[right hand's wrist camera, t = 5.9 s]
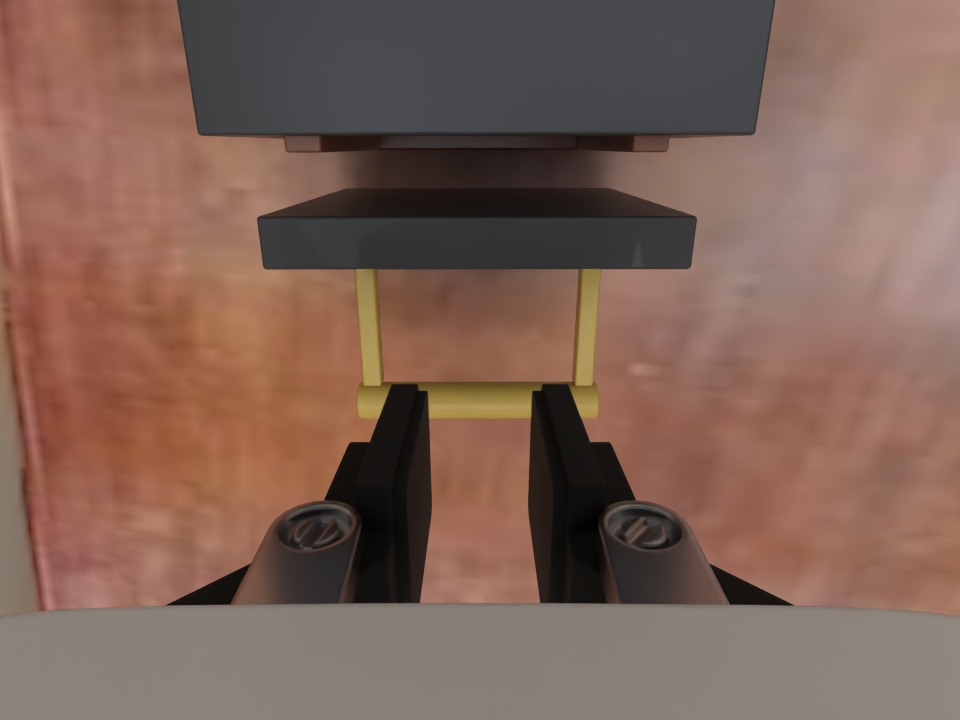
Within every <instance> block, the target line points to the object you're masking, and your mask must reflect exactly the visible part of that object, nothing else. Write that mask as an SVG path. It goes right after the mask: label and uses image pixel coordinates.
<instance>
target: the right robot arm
mask: <svg viewBox="0 0 960 720" xmlns="http://www.w3.org/2000/svg"><path fill="white" fill-rule="evenodd" d="M431 511H432V493H431V464H430V434H429V404H428V391H419V388H418V384H392V385H391V387H390V390H389V392H388V395H387V398H386V401H385V403H384V406H383V409H382V411H381V414H380V417H379V419H378V422H377V425H376V427H375V430H374V433H373V435H372V438H371V441H370V442H350V444H349V445H348V447H347V449H346V452H345V454H344V456H343V458H342V461H341V463H340V465H339V468H338V470H337V472H336V474H335V477H334V479H333V481H332V483H331V486H330V488H329V490H328V492H327V495H326V497H325V499H324V501H314V502H309V503H305V504H302V505H298V506H296V507H294V508H292V509H290V510H287V511H286V512H284V513H283V514H282V515H280V516H279V517H278V518H276V519H275V521H274V522H273V523H272V524H271V526H270V527H269V529H268V531H267V533H266V535H265V537H264V539H263V541H262V543H261V545H260V547H259V549H258V551H257V553H256V555H255V557H254V559H253V561H252V562H251V564H249V565H247V566H245V567H243V568H241V569H239V570H237V571H235V572H233V573H231V574H229V575H227V576H225V577H222V578H220V579H218V580H216V581H214V582H212V583H210V584H208V585H206V586H204V587H202V588H200V589H198V590H196V591H194V592H192V593H190V594H188V595H186V596H184V597H182V598H180V599H178V600H176V601H174V602H172V603H170V604H168V605H166V606H144V607H113V608H83V609H62V610H51V611H40V612H29V613H19V614H13V615H6V616H0V720H960V616H955V615H948V614H941V613H931V612H921V611H910V610H898V609H878V608H850V607H816V606H794V605H792V604H790V603H788V602H786V601H784V600H782V599H780V598H778V597H776V596H774V595H772V594H770V593H768V592H766V591H764V590H762V589H760V588H758V587H756V586H754V585H752V584H750V583H748V582H746V581H744V580H742V579H740V578H738V577H736V576H733V575H731V574H729V573H727V572H725V571H723V570H721V569H719V568H717V567H715V566H713V565H711V564H709V562H708V561H707V559H706V557H705V555H704V553H703V551H702V549H701V547H700V545H699V543H698V541H697V539H696V537H695V535H694V533H693V531H692V529H691V527H690V526H689V524H688V523H687V522H686V521H685V519H684V518H682V517H681V516H680V515H678V514H677V513H676V512H674V511H673V510H670V509H668V508H666V507H664V506H662V505H658V504H655V503H651V502H646V501H636V499H635V497H634V495H633V492H632V490H631V488H630V486H629V483H628V481H627V479H626V477H625V474H624V472H623V470H622V467H621V465H620V463H619V461H618V458H617V456H616V454H615V452H614V449H613V447H612V445H611V444H610V442H590V441H589V438H588V435H587V433H586V430H585V427H584V425H583V422H582V419H581V417H580V414H579V411H578V409H577V406H576V403H575V400H574V398H573V395H572V392H571V390H570V387H569V385H568V384H542V388H541V391H532V404H531V434H530V464H529V494H528V511H529V521H530V528H531V536H532V544H533V551H534V559H535V566H536V574H537V581H538V589H539V596H540V603H420V596H421V589H422V581H423V574H424V566H425V559H426V551H427V544H428V536H429V529H430V521H431Z"/></svg>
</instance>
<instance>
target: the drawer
mask: <svg viewBox="0 0 960 720" xmlns="http://www.w3.org/2000/svg"><path fill="white" fill-rule="evenodd" d="M284 139H285V148H286V151H287V152H341V151H365V150H595V151H620V152H666V151H667V150H668V145H669V136H284ZM257 222H258V230H259V237H260V245H261V253H262V260H263V267H264V268H265V269H355V281H356V294H357V307H358V320H359V334H360V347H361V360H362V373H363V382H361V383H360V384H359V387H358V391H357V411H358V415H359V417H360V418H379V417H380V414H381V411H382V409H383V406H384V403H385V401H386V398H387V395H388V392H389V390H390V387H391V385H392V384H418V388H419V391H428V404H429V418H531V404H532V391H541V388H542V384H568V385H569V387H570V390H571V392H572V395H573V398H574V400H575V403H576V406H577V409H578V411H579V414H580V417H581V418H596V417H597V415H598V412H599V390H598V386H597V384H596V383H595V382H593V373H594V359H595V346H596V332H597V318H598V304H599V290H600V276H601V269H689V268H690V267H691V262H692V254H693V246H694V238H695V230H696V222H697V218H696V217H695V216H693V215H689V214H686V213H683V212H680V211H677V210H674V209H671V208H668V207H665V206H662V205H659V204H656V203H653V202H650V201H647V200H644V199H641V198H638V197H635V196H632V195H628V194H625V193H622V192H619V191H616V190H613V189H610V188H446V189H344V190H341V191H337V192H334V193H331V194H328V195H325V196H322V197H319V198H316V199H312V200H309V201H306V202H303V203H300V204H297V205H294V206H291V207H288V208H284V209H281V210H278V211H275V212H272V213H269V214H266V215H263V216H260V217H258V218H257ZM377 269H579V274H578V291H577V308H576V325H575V342H574V359H573V376H572V379H573V381H574V382H383V380H384V373H383V357H382V342H381V326H380V310H379V294H378V278H377Z"/></svg>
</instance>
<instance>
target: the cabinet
mask: <svg viewBox="0 0 960 720" xmlns="http://www.w3.org/2000/svg"><path fill="white" fill-rule="evenodd" d="M177 3H178V9H179V16H180V22H181V28H182V35H183V41H184V47H185V54H186V60H187V66H188V73H189V79H190V85H191V92H192V98H193V104H194V111H195V117H196V123H197V130H198V133H199V135H202V136H228V137H256V138H283V139H284V136H669V138H690V137H715V136H742V135H753V134H754V133H755V130H756V123H757V117H758V110H759V103H760V97H761V90H762V84H763V77H764V71H765V64H766V58H767V51H768V44H769V38H770V31H771V25H772V18H773V12H774V5H775V0H177Z"/></svg>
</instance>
